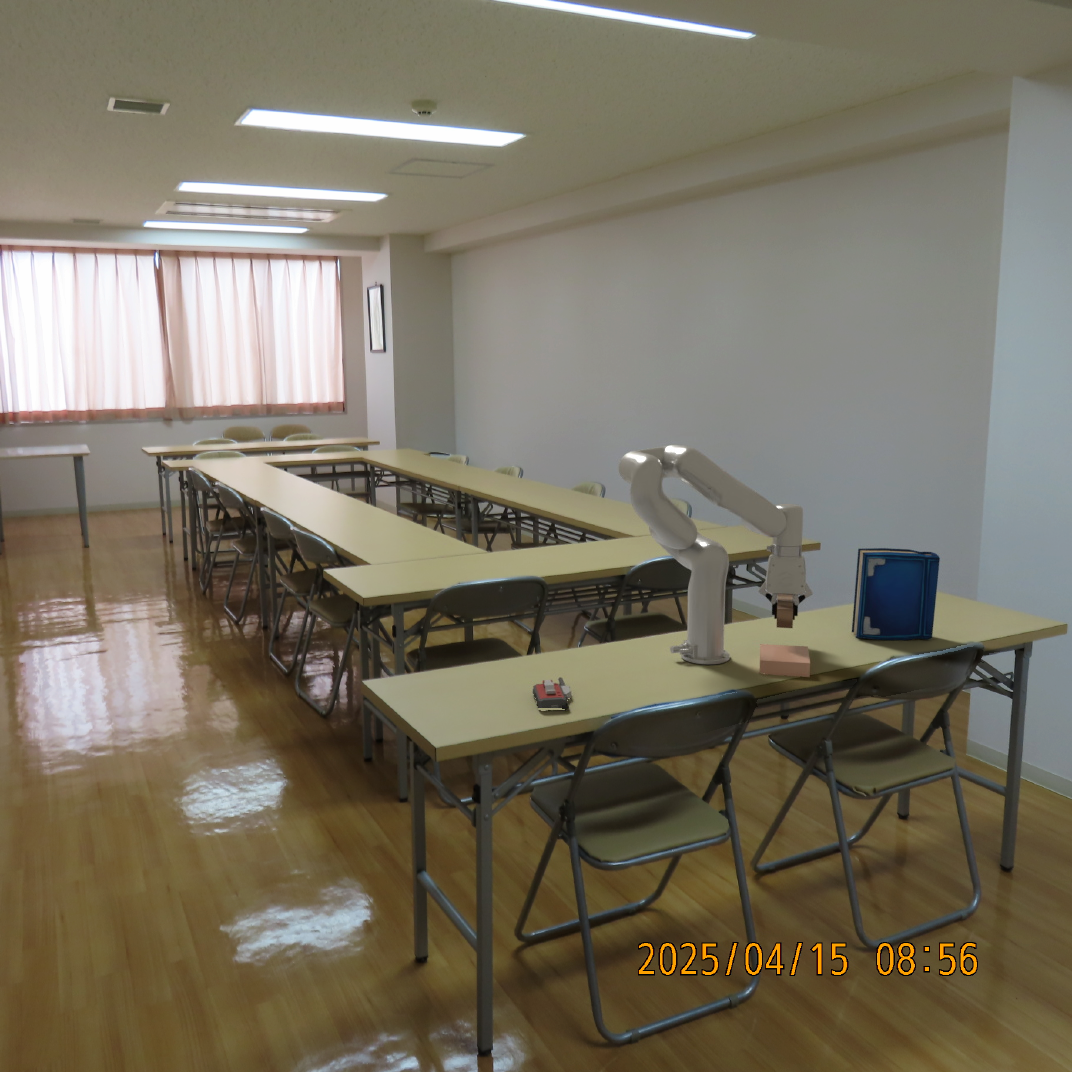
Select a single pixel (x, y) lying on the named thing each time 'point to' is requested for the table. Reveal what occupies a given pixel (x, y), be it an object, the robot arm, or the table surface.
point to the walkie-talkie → (552, 694)
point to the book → (895, 594)
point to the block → (784, 611)
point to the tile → (784, 660)
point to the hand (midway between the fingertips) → (784, 617)
